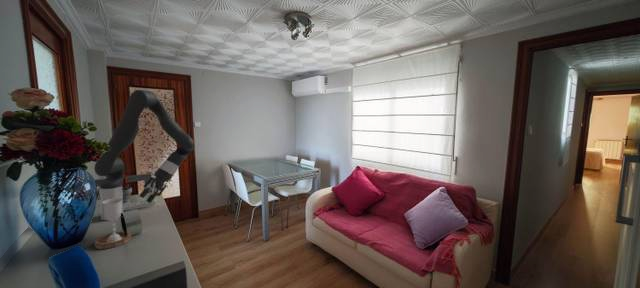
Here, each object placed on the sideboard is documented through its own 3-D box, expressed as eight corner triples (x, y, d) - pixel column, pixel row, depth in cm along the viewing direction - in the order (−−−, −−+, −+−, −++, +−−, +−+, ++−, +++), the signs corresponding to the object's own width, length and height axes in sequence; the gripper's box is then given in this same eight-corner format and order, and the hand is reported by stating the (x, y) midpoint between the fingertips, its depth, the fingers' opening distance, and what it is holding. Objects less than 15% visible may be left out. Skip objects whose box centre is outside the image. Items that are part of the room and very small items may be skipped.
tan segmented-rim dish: (90, 243, 103) (90, 238, 102) (124, 233, 113) (124, 228, 113) (101, 251, 96) (100, 246, 96) (135, 240, 107) (135, 235, 107)
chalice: (100, 241, 103) (98, 201, 102) (118, 235, 109) (117, 197, 108) (109, 245, 100) (107, 204, 99) (127, 238, 106) (126, 200, 105)
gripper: (154, 164, 122) (131, 192, 116) (166, 170, 114) (143, 201, 108) (167, 171, 128) (146, 198, 122) (179, 177, 120) (157, 206, 114)
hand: (144, 199), depth 115 cm, fingers open, 8 cm apart
